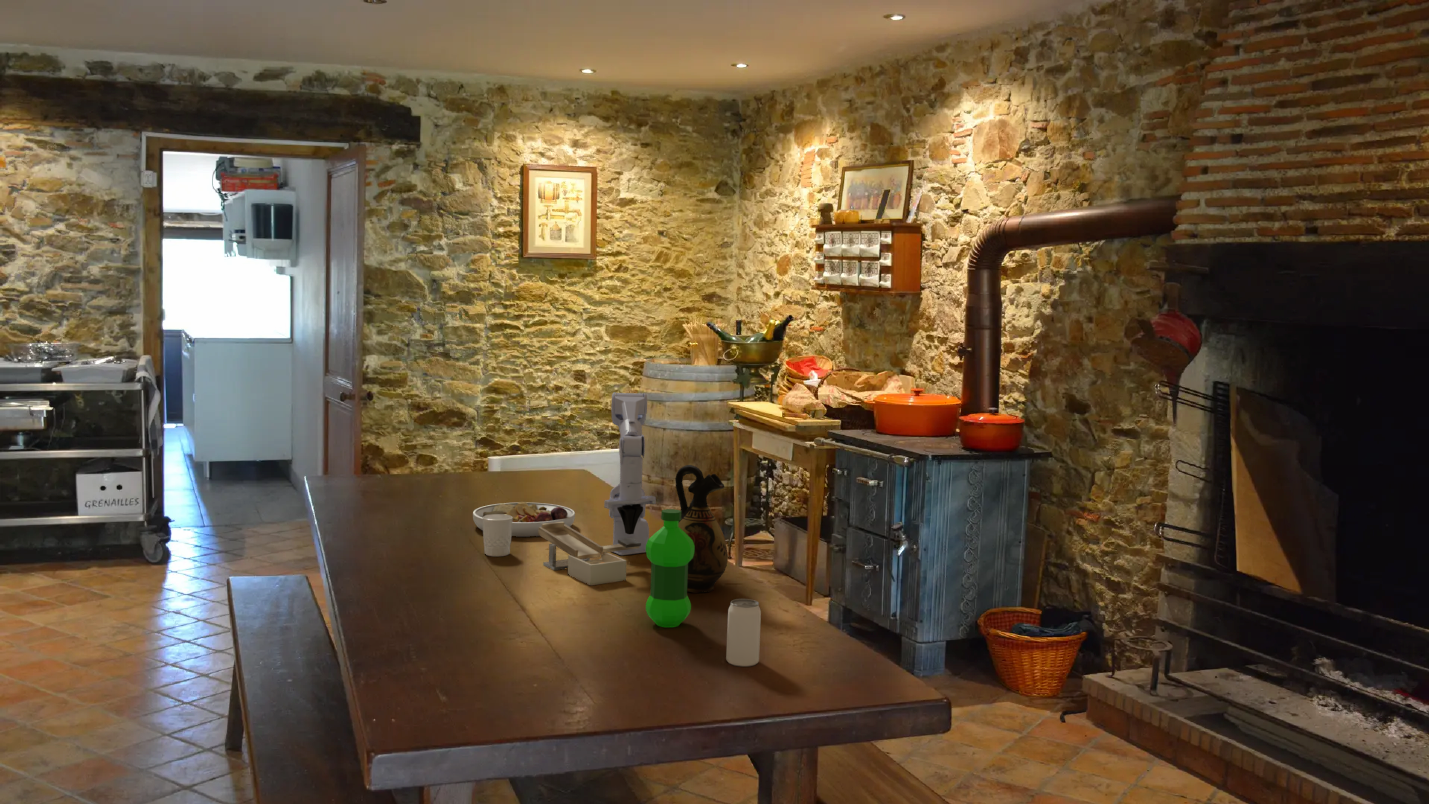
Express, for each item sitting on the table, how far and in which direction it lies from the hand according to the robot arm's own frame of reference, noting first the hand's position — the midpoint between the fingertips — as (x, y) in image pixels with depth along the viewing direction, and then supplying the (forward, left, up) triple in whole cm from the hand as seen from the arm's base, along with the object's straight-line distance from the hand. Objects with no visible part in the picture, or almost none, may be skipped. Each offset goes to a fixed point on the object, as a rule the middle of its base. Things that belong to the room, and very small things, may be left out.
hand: (629, 533), depth 291 cm
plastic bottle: (+19, +46, -9) cm, 50 cm away
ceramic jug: (-3, +24, -9) cm, 26 cm away
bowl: (+3, -55, -10) cm, 56 cm away
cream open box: (+13, +5, -9) cm, 16 cm away
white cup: (+24, -29, -9) cm, 38 cm away
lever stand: (+13, -9, -9) cm, 18 cm away
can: (+20, +74, -9) cm, 77 cm away
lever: (+7, -8, -4) cm, 12 cm away
